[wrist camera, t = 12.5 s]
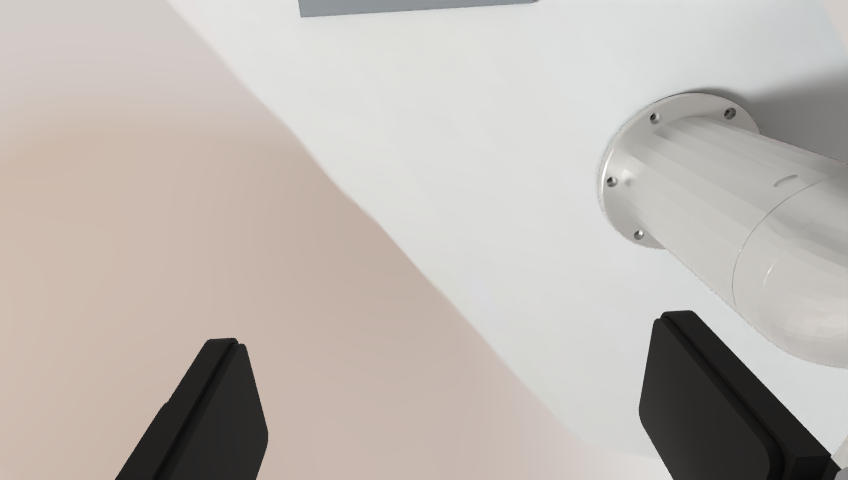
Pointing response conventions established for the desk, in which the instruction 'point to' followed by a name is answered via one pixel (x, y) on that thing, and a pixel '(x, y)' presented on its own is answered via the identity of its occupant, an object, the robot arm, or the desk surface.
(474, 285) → the desk surface
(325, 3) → the slate mat
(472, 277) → the desk surface
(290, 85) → the desk surface
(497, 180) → the desk surface
